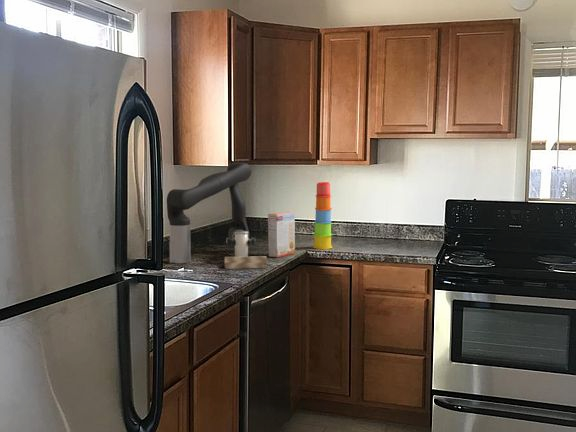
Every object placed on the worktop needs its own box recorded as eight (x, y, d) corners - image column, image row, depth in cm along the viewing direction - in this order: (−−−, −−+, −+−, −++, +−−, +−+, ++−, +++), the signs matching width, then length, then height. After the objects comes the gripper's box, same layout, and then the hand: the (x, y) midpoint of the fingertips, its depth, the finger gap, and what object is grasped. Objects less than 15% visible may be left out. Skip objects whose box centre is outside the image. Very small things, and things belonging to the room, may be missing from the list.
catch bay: (224, 268, 267) (224, 257, 267) (224, 264, 278) (224, 253, 278) (266, 267, 269) (266, 256, 269) (264, 263, 280) (264, 252, 280)
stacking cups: (335, 247, 329) (336, 182, 325) (326, 249, 320) (326, 182, 317) (319, 245, 334) (319, 181, 331) (309, 248, 326) (309, 182, 323)
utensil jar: (234, 258, 281) (234, 232, 280) (234, 256, 287) (234, 230, 286) (248, 258, 282) (248, 232, 280) (247, 256, 288) (248, 230, 287)
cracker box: (286, 253, 310) (286, 211, 308) (295, 254, 306) (295, 212, 304) (267, 256, 299) (267, 213, 297) (277, 257, 296) (277, 214, 294)
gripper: (225, 230, 297) (225, 235, 280) (255, 230, 298) (257, 234, 282) (225, 246, 297) (225, 251, 281) (255, 245, 299) (257, 251, 283)
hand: (241, 243), depth 281 cm, fingers closed on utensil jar, 6 cm apart
